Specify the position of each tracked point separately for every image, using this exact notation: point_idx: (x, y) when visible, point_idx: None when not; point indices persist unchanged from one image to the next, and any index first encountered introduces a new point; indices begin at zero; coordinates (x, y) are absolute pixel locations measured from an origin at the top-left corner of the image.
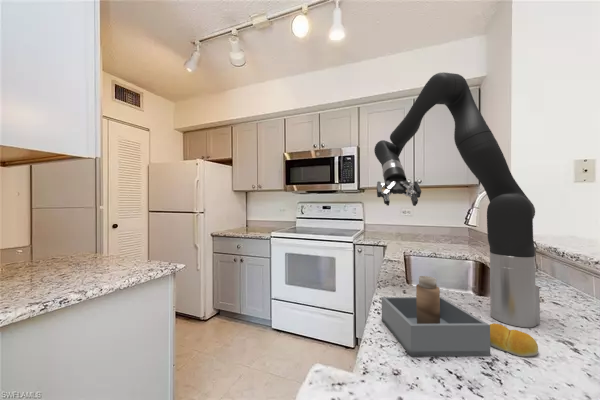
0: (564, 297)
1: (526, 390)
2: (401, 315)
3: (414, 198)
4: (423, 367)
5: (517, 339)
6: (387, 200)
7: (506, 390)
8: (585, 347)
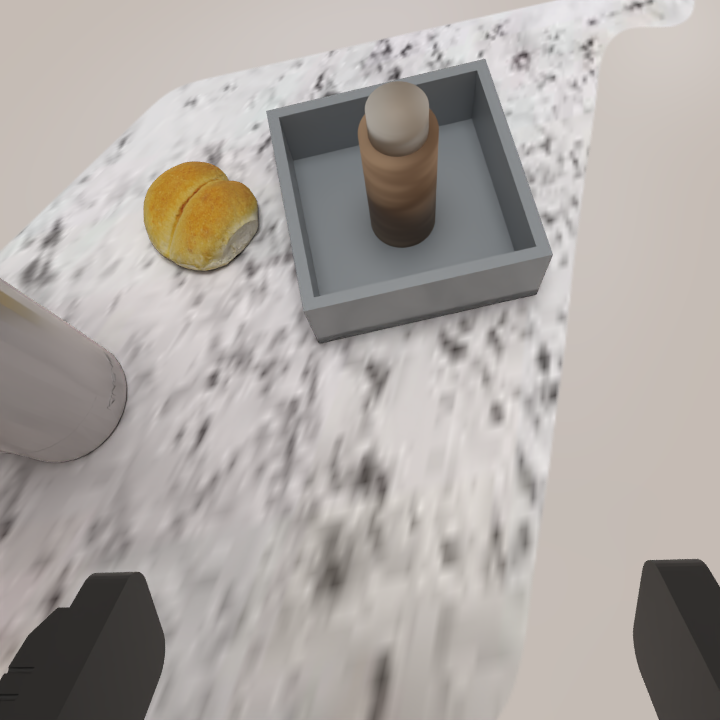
0: None
1: (286, 68)
2: (500, 111)
3: (79, 643)
4: None
5: (199, 165)
6: (705, 566)
7: (323, 60)
8: (12, 256)
